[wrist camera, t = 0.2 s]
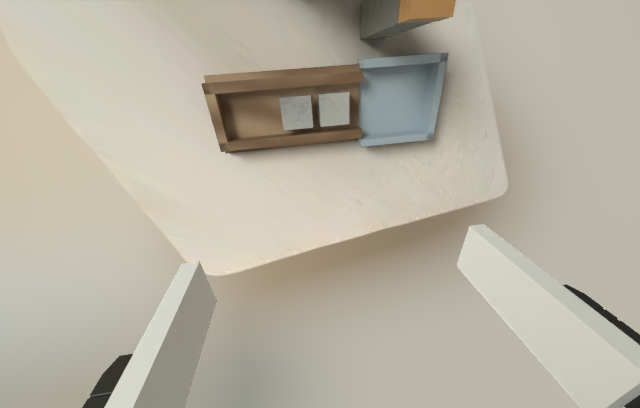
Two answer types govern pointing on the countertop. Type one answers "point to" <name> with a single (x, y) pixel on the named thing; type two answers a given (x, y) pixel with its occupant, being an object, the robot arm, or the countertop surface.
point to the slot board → (278, 107)
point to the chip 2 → (333, 108)
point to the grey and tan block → (400, 15)
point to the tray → (400, 98)
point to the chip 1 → (296, 111)
